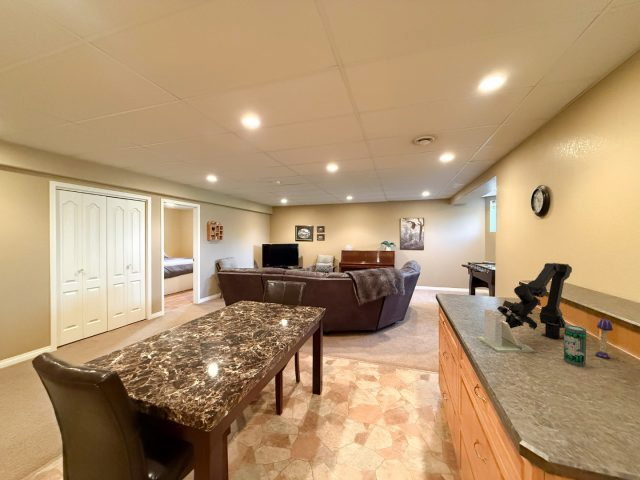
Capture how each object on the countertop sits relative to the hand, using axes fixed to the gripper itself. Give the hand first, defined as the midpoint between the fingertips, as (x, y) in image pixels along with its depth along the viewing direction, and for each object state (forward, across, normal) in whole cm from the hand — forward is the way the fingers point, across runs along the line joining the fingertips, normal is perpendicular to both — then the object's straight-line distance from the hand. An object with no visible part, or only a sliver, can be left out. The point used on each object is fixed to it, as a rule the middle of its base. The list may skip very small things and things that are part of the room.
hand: (504, 329), depth 122 cm
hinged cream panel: (+2, 0, +6) cm, 6 cm away
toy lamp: (-18, +13, +31) cm, 38 cm away
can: (-6, +17, +18) cm, 25 cm away
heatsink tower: (+8, 0, +1) cm, 8 cm away
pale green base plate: (+6, 0, +5) cm, 8 cm away
